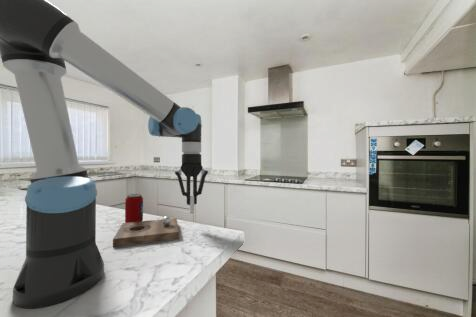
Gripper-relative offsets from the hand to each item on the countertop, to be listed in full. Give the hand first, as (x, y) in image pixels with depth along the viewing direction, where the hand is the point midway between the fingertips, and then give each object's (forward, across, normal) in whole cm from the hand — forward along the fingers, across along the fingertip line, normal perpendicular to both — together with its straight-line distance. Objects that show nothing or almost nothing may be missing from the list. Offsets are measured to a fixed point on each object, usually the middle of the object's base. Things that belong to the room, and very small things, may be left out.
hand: (191, 212), depth 79 cm
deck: (+6, +16, 0) cm, 17 cm away
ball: (+2, +9, 0) cm, 10 cm away
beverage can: (+7, +22, -15) cm, 28 cm away
